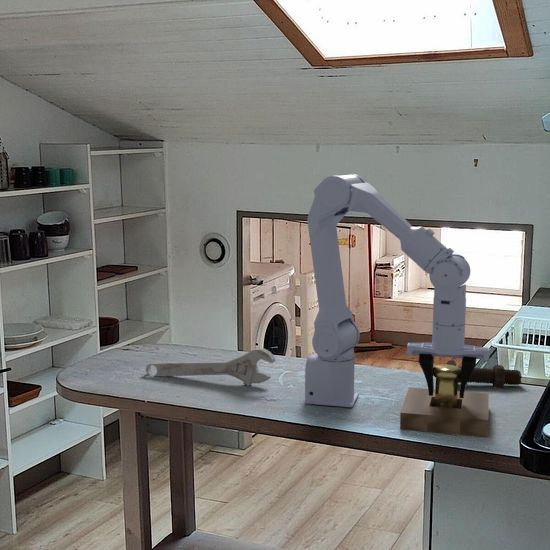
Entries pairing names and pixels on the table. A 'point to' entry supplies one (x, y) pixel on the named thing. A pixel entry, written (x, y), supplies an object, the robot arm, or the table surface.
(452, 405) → the brass pin
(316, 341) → the robot arm
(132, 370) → the table surface
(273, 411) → the table surface
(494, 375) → the bolt
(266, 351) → the wrench
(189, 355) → the table surface
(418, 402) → the socket plate
